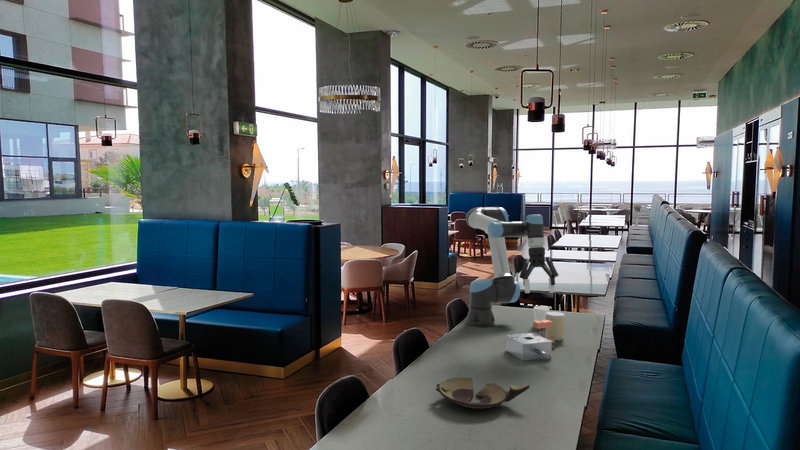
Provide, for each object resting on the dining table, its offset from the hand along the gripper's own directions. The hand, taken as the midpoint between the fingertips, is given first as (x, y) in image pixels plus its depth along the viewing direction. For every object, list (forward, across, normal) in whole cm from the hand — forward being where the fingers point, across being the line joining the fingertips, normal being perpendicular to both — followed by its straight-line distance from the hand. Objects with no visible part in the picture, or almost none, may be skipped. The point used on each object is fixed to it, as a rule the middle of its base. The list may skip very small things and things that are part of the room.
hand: (539, 292), depth 250 cm
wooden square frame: (+24, 0, -1) cm, 24 cm away
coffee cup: (+22, -4, +14) cm, 27 cm away
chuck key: (+24, 0, -1) cm, 24 cm away
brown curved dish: (+35, +26, -72) cm, 84 cm away
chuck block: (+27, +7, -17) cm, 33 cm away
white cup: (+19, -20, +26) cm, 38 cm away
